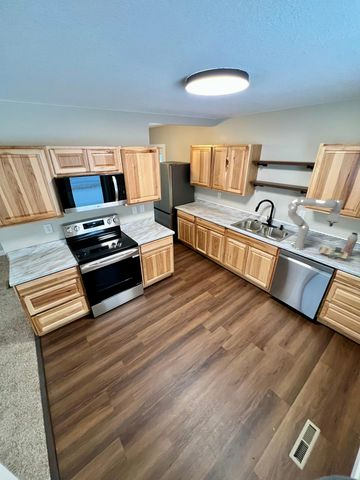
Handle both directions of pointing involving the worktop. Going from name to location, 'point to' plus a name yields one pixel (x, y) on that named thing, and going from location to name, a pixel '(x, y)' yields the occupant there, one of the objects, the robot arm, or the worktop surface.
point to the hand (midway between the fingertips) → (330, 226)
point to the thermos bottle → (350, 244)
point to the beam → (333, 253)
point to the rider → (338, 249)
